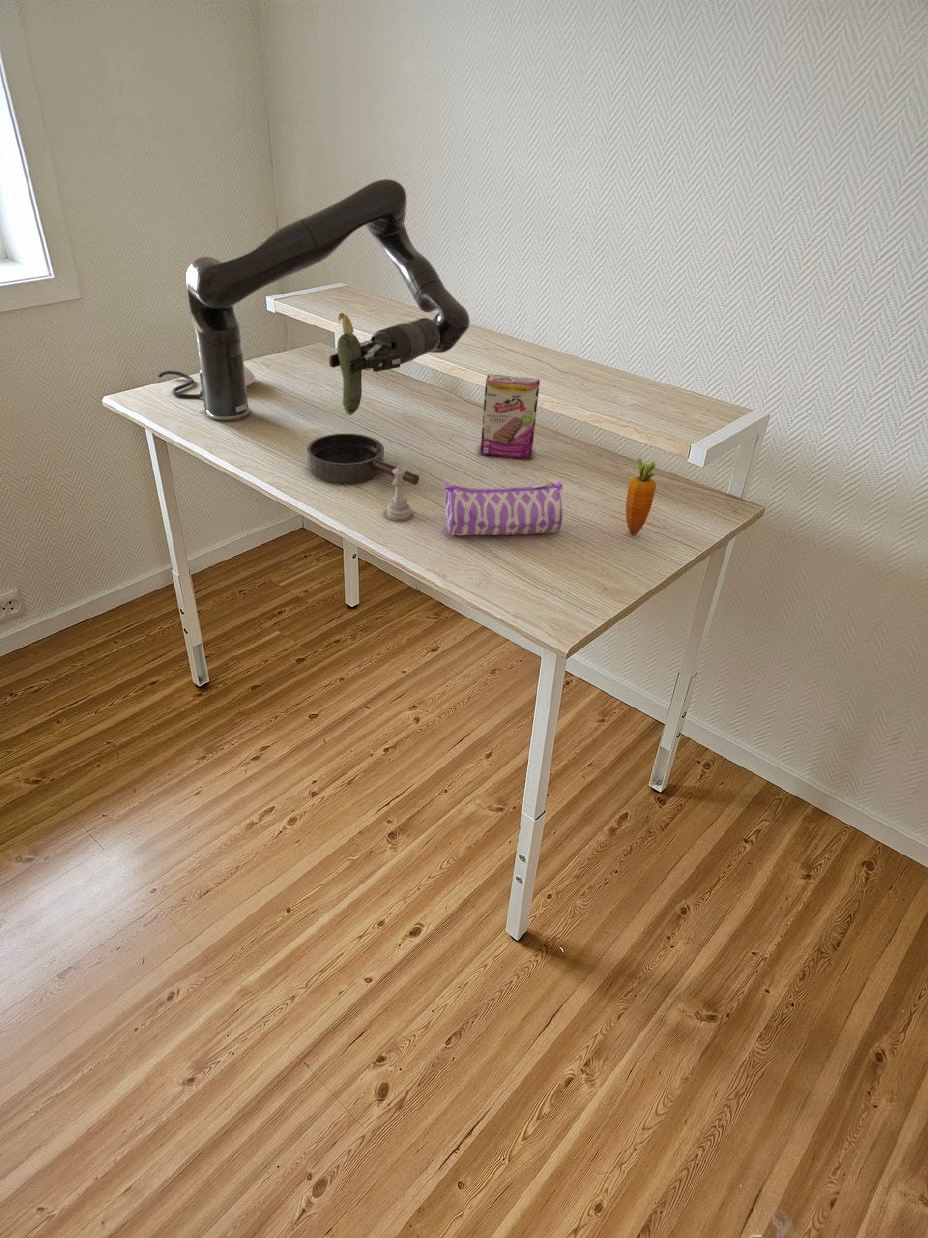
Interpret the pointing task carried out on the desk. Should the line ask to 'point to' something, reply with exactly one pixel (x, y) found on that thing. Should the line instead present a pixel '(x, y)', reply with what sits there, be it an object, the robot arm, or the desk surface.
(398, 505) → the chess piece
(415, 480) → the pan handle
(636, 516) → the carrot
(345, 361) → the vegetable
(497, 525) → the pencil case
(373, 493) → the desk surface
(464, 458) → the desk surface
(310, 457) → the pan
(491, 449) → the candy bar box
